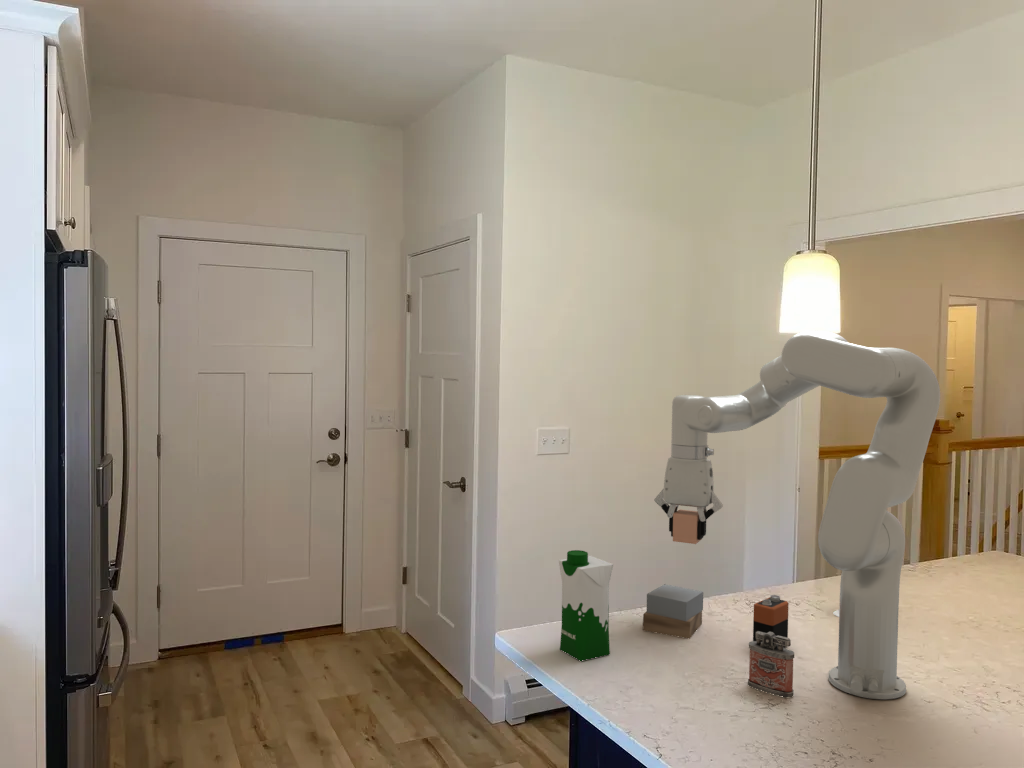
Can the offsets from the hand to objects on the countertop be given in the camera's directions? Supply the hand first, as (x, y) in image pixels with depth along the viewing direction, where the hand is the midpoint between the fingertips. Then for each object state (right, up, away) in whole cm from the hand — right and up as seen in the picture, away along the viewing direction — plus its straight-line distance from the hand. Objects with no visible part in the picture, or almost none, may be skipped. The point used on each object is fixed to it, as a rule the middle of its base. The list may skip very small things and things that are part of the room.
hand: (687, 536), depth 168 cm
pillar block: (0, -1, 0) cm, 1 cm away
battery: (+14, -20, -11) cm, 27 cm away
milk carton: (-23, -20, -15) cm, 34 cm away
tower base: (-3, -20, 0) cm, 20 cm away
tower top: (-3, -16, 0) cm, 16 cm away
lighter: (+8, -21, -31) cm, 39 cm away
